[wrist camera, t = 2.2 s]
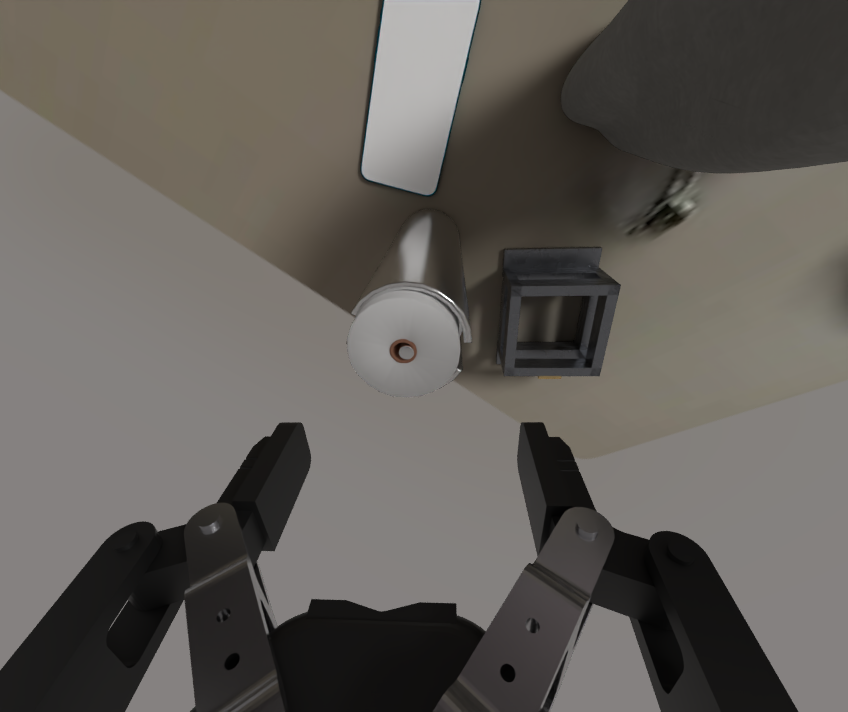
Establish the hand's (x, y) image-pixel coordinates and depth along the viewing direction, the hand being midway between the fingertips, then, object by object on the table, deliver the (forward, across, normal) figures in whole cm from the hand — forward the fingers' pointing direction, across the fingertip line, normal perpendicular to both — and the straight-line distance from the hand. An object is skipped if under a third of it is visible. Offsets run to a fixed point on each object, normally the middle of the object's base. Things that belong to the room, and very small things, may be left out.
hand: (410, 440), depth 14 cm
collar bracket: (+30, -12, +7) cm, 34 cm away
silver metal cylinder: (+31, 0, -1) cm, 31 cm away
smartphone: (+31, +1, -14) cm, 34 cm away
